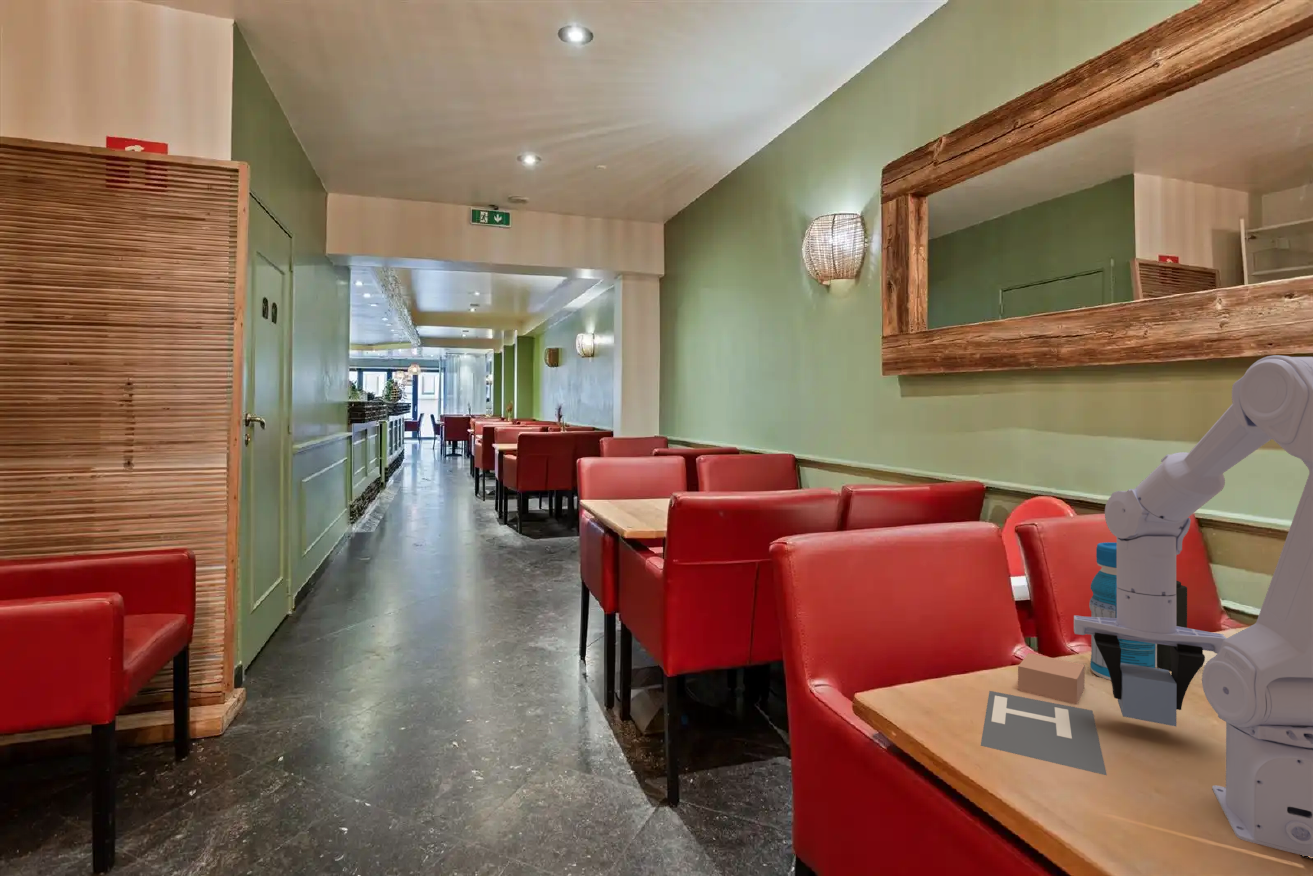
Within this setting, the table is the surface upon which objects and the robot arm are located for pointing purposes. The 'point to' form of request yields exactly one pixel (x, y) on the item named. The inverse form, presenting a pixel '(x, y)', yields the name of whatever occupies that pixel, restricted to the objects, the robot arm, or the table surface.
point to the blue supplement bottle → (1113, 614)
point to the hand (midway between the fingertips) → (1145, 701)
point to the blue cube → (1148, 694)
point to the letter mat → (1043, 731)
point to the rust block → (1051, 678)
